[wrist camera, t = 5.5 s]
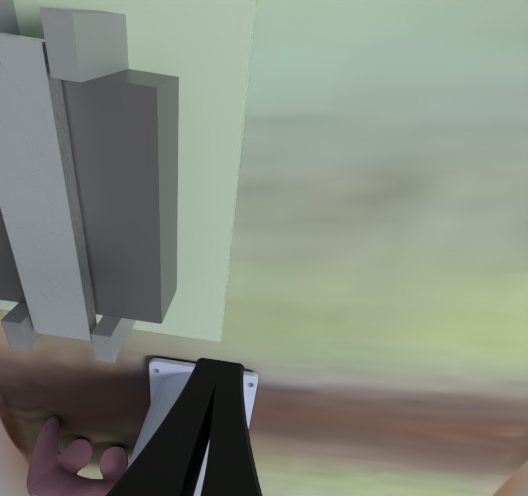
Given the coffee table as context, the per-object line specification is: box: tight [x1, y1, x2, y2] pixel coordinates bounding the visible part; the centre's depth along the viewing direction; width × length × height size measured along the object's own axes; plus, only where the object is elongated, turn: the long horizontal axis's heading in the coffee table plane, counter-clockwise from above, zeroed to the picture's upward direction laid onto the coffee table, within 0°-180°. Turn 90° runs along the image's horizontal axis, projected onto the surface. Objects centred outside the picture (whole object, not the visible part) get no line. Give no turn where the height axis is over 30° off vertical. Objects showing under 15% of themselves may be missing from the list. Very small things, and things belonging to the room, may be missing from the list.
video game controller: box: [27, 416, 128, 496], centre depth 31 cm, size 10×5×7 cm, turn 75°
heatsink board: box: [0, 0, 257, 363], centre depth 17 cm, size 20×16×5 cm
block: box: [0, 32, 97, 341], centre depth 16 cm, size 14×3×1 cm, turn 172°
